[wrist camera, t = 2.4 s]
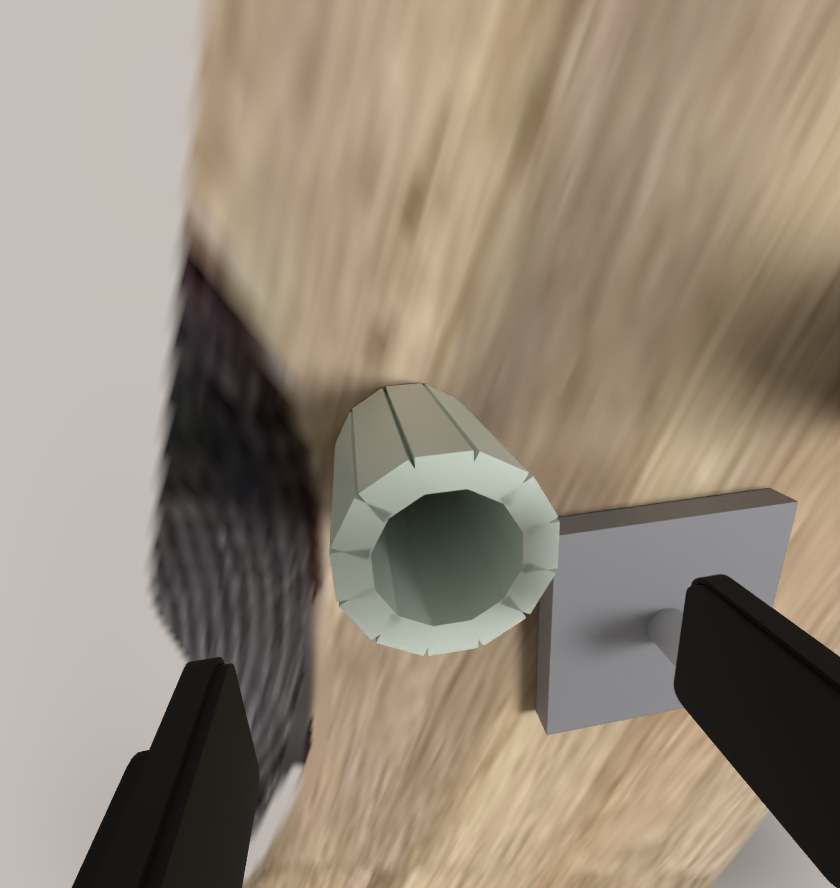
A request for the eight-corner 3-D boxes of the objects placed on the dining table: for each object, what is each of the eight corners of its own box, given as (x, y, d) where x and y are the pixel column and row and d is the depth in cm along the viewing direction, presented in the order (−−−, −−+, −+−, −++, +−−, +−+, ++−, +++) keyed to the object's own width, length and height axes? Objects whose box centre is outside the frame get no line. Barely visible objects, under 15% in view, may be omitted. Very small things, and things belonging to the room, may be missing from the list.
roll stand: (541, 519, 22) (646, 645, 14) (770, 488, 23) (974, 586, 16) (535, 710, 26) (614, 886, 18) (730, 673, 27) (877, 821, 20)
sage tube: (327, 391, 18) (316, 468, 11) (476, 377, 19) (563, 439, 11) (345, 526, 20) (347, 670, 13) (479, 508, 21) (554, 634, 13)
